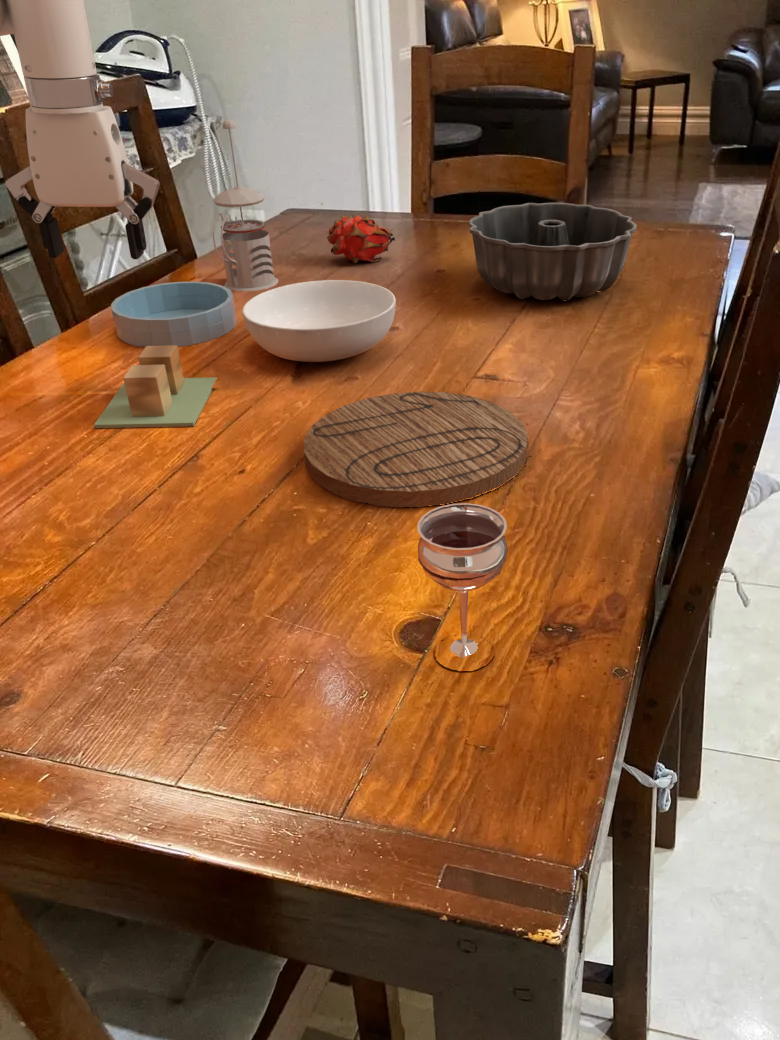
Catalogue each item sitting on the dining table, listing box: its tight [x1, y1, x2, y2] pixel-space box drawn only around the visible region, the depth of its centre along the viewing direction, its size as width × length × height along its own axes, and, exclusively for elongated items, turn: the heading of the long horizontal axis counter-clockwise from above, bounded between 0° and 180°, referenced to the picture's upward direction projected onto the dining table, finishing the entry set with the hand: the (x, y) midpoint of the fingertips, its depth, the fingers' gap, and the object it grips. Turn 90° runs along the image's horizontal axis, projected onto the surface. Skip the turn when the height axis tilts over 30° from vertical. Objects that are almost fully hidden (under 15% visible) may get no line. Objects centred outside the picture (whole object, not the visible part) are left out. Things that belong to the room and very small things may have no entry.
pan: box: [110, 281, 238, 348], centre depth 138 cm, size 17×17×4 cm
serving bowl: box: [241, 279, 397, 363], centre depth 129 cm, size 21×21×7 cm
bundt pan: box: [468, 202, 638, 302], centre depth 150 cm, size 26×26×10 cm
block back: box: [137, 345, 185, 394], centre depth 119 cm, size 4×4×5 cm
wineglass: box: [416, 502, 508, 658], centre depth 72 cm, size 7×7×12 cm
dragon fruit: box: [326, 214, 396, 264], centre depth 165 cm, size 8×8×12 cm
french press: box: [212, 119, 279, 292], centre depth 149 cm, size 10×12×25 cm
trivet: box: [303, 391, 529, 509], centre depth 105 cm, size 25×25×2 cm
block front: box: [122, 364, 173, 417], centre depth 114 cm, size 4×4×5 cm
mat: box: [93, 376, 218, 429], centre depth 118 cm, size 12×14×1 cm
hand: (97, 255), depth 112 cm, fingers open, 9 cm apart
